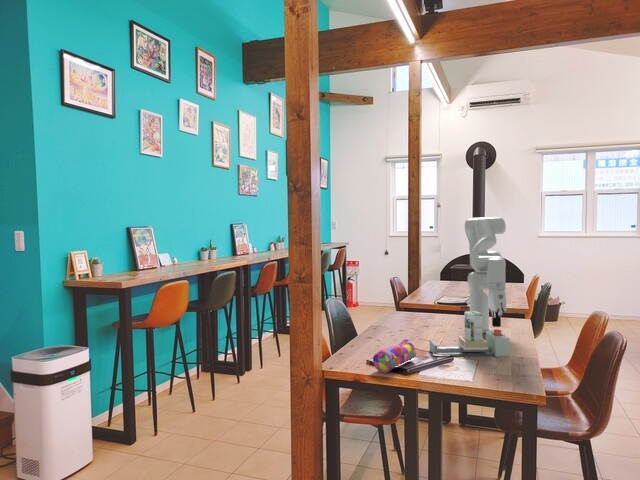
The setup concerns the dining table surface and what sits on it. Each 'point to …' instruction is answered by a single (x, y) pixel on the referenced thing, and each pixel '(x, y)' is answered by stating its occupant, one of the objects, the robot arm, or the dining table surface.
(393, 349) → the pencil case
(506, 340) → the housing
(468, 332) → the syrup box
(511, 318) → the dining table surface
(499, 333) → the button
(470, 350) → the carriage
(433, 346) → the rail
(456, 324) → the dining table surface
